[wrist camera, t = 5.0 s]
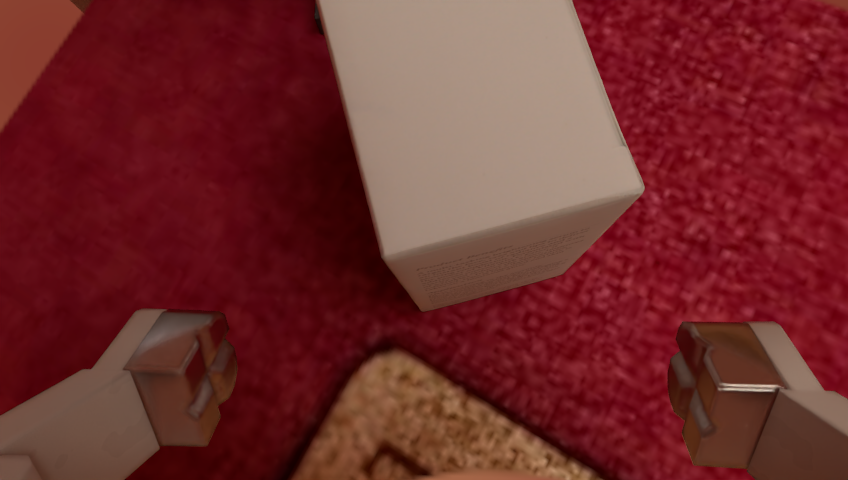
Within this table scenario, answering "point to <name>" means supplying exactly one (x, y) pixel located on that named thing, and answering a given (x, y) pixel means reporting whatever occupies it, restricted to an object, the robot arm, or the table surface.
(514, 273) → the small box
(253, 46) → the table surface
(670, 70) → the table surface
